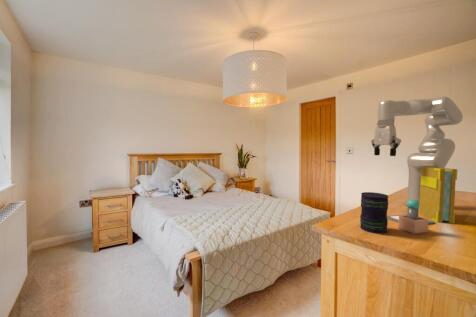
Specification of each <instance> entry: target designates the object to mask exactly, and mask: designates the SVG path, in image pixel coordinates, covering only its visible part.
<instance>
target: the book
mask: <svg viewBox="0 0 476 317" xmlns="http://www.w3.org/2000/svg"><path fill="white" fill-rule="evenodd" d="M458 170H459V169H457V168H450V167H444V168H442V167H434V166H421V182H420V203H419V211H418V214H420V215H422V216H424V217H426V218H427V219H429V220H431V221H434V222H435V223H440V224H443V222H446V223H448V224H455V219H456V218H455V217H456V213H455V198H456V196H455V195H456V182H457V179H458Z"/></svg>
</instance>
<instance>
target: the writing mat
mask: <svg viewBox="0 0 476 317" xmlns="http://www.w3.org/2000/svg"><path fill="white" fill-rule="evenodd" d="M401 215H402V214H395V215H387V219H388V220H390V221H393V222H396V223H398V224H399V216H401ZM403 215H407V214H405V213H404V214H403ZM434 224H436V222H435V221H433V220H431V219H428V225H434Z"/></svg>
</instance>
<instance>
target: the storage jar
mask: <svg viewBox="0 0 476 317" xmlns="http://www.w3.org/2000/svg"><path fill="white" fill-rule="evenodd" d="M360 193H361V194H360V195H361V198H360V207H361V209H360V210H361V213H360V219H359V224H360V226H359V228H360V229H361V230H363V231H364V232H367V233H370V234H375V235H376V234H379V235H383V234H386V233H388V230H387V229H388V226H389V225H388V224H389V223H388V221H389V219H387V216H388V210H389V195H388V194H385V193H382V192H374V191H373V192H371V191H368V192H366V191H365V192H360Z"/></svg>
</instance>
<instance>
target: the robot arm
mask: <svg viewBox="0 0 476 317" xmlns="http://www.w3.org/2000/svg"><path fill="white" fill-rule="evenodd" d="M462 112H463V111H462V110H461V109H460V108H459V106H457V104H456V103H455V102H454V100H452V98H450V97H449V96H445V95H444V96H437V97H434V98H427V99H425V98H424V99H412V100H383V101H379V103H378V106H377V123H376V125H377V127H375V131H374V137H373V139H371V141H370V143H371V145H372V147H373V149H374V150H373V151H374V153H373V154H374V156H380V154H381V148H380V147H381V146H390V149H389V156H390V157H396V155H397V149H398V147H399V146H400V144H401V142H402V139H401V138H398V137H397V129H396V126H395V117H401V116H403V117H404V116H418V115H426V116H425V117H424V124H425V127H426V134H425V136H424V137H423V139H422V141H420V143H419V146H418V149H417V150H418V152H413V153H410V154H409V155H408V156H407V159H406V160H407V162H406V164H407V168H408V169H407V170H408V180H407V181H408V184H407V186H408V187H407V201H404V202H403V205H405V206H407V202H408V200H417V201H419V203H420V182H421V166H434V167H442V168H446V167H447V165H448V163H449V162H450V160H451V158H452V157H453V155H454V153H455V150H456V143H455V141H454V140H453V139H450V138H446V137H445V136H446V134H445V132H444V130H443V129H441V126H443V127H444V126H445V127H446V126H454V125H458V124H460V123H461V122H462V121H463V118H464V117H463V116H464V115H463V113H462Z"/></svg>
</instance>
